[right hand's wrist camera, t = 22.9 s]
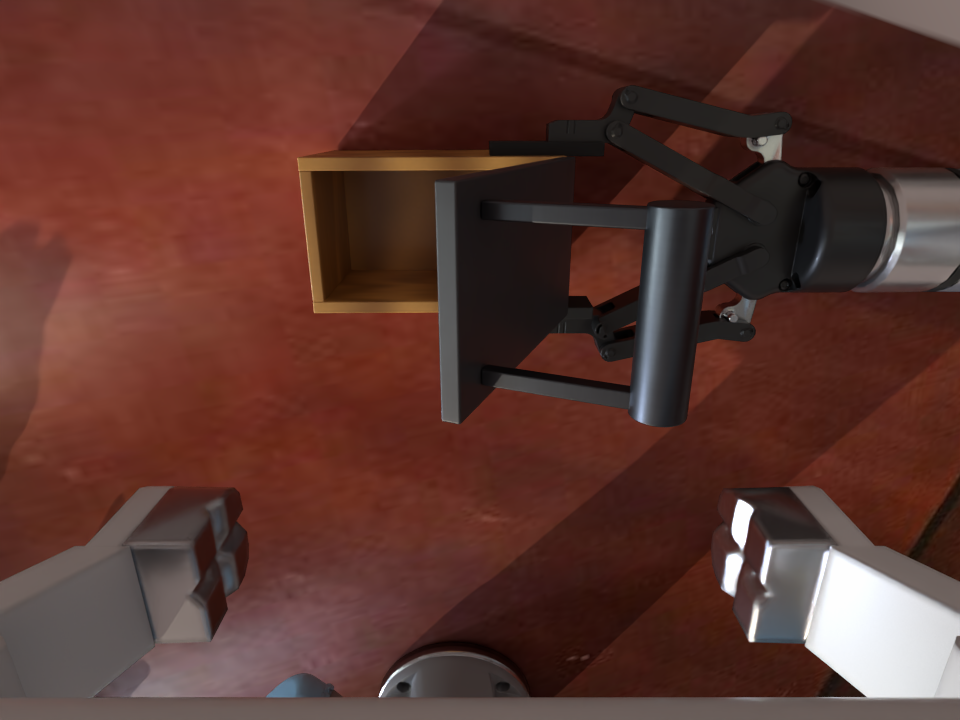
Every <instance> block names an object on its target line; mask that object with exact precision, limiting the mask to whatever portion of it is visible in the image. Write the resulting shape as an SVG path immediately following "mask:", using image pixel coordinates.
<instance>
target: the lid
mask: <svg viewBox="0 0 960 720" xmlns="http://www.w3.org/2000/svg"><path fill="white" fill-rule="evenodd" d="M574 179H575V157H559V158H553V159H548V160H542V161H537V162H531V163H526V164H520V165H515V166H509V167H504V168H498V169H493V170H487V171H482V172H476V173H471V174H465V175H460V176H454V177H449V178H443V179H438V180H435V212H436V246H437V279H438V313H439V347H440V380H441V414H442V421H445V422H450V423H455V424H461V423H462V422H463V421H464V420H465V419H466V418H467V417H468V416H469V415H470V414H471V413H472V412H473V411H474V410H475V409H476V408H477V407H478V406H479V405H480V404H481V403H482V402H483V400H484V399H485V398H486V397H487V396H488V395H489V394H490V393H491V392H492V391H493V390H494V389H495V388H496V387H497V388H503V389H509V390H515V391H521V392H527V393H533V394H539V395H545V396H551V397H557V398H563V399H569V400H575V401H581V402H587V403H593V404H599V405H605V406H611V407H617V408H623V409H628V413H629V415H630V416H631V417H632V418H633V419H634V420H636V421H638V422H640V423H643V424H646V425H650V426H656V427H673V426H678V425H680V424H682V423H684V422H685V421H686V419H687V413H688V406H689V398H690V391H691V383H692V376H693V368H694V361H695V353H696V346H697V338H698V331H699V323H700V316H701V308H702V301H703V293H704V286H705V278H706V271H707V263H708V256H709V248H710V241H711V233H712V226H713V218H714V211H715V205H713V204H711V203H706V202H699V201H685V200H662V201H653V202H649V203H648V204H647V206H634V205H612V204H590V203H573V198H574ZM572 225H575V226H592V227H608V228H625V229H642V230H645V234H644V245H643V256H642V266H641V277H640V288H639V298H638V309H637V320H636V330H635V341H634V352H633V362H632V373H631V384H630V386H626V385H620V384H613V383H607V382H600V381H594V380H587V379H581V378H574V377H567V376H561V375H554V374H548V373H541V372H535V371H528V370H521V369H515V368H516V367H517V366H518V365H519V364H520V363H521V362H522V361H523V360H524V359H525V358H526V357H527V356H528V355H529V354H530V352H531V351H532V350H533V349H534V348H535V347H536V346H537V345H538V344H539V343H540V342H541V341H542V340H543V339H544V338H545V337H546V336H547V335H548V334H549V333H550V332H551V331H552V330H553V329H554V328H555V327H556V326H557V325H558V324H559V323H560V322H561V321H562V320H563V319H564V318H565V317H566V316H567V314H568V297H569V277H570V258H571V238H572Z"/></svg>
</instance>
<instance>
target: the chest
mask: <svg viewBox="0 0 960 720" xmlns="http://www.w3.org/2000/svg"><path fill="white" fill-rule="evenodd" d="M559 157H567V156H490V155H489V150H334V151H329V152H324V153H319V154H313V155H308V156H303V157H298V158H297V159H298V168H299V176H300V185H301V195H302V204H303V213H304V223H305V232H306V241H307V251H308V260H309V269H310V279H311V288H312V297H313V301H314V302H313V307H314V313H414V312H438V279H437V246H436V212H435V180H438V179H443V178H449V177H454V176H460V175H465V174H471V173H476V172H482V171H487V170H493V169H498V168H504V167H509V166H515V165H520V164H526V163H531V162H537V161H542V160H548V159H553V158H559Z"/></svg>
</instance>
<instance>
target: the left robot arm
mask: <svg viewBox="0 0 960 720" xmlns="http://www.w3.org/2000/svg"><path fill="white" fill-rule="evenodd" d="M634 113H635V114H639V115H643V116H647V117H651V118H655V119H659V120H663V121H667V122H671V123H674V124H678V125H682V126H686V127H690V128H694V129H698V130H702V131H706V132H710V133H714V134H717V135H722V136H727V137H740V142H741V146H742V148H743V149H745V150H748V151H753V152H754V153H755V154H756V155H757V157H758V161H757V162H755V163H754V164H752V165H751V166H750V167H748V168H747V169H745V170H744V171H742V172H741V173H739V174H738V175H736V176H735V177H733V178H732V179H730V180H729V181H728V180H727V179H725V178H723V177H721V176H719V175H717V174H715V173H713V172H711V171H709V170H707V169H705V168H704V167H702V166H700V165H698V164H697V163H695V162H693V161H691V160H689V159H688V158H686V157H684V156H682V155H681V154H679V153H677V152H675V151H674V150H672V149H670V148H668V147H667V146H665V145H663V144H661V143H659V142H658V141H656V140H654V139H652V138H651V137H649V136H647V135H645V134H644V133H642V132H640V131H638V130H636V129H635V128H633V127H631V126H629V124H630V122H631V119H632V117H633V115H634ZM791 125H792V117H791V116H790V114H788V113H786V112H764V113H756V114H748V115H747V114H743V113H739V112H735V111H731V110H727V109H723V108H720V107H716V106H712V105H708V104H704V103H700V102H696V101H693V100H689V99H685V98H681V97H677V96H673V95H670V94H666V93H662V92H658V91H654V90H650V89H646V88H643V87H639V86H635V85H630V86H626V87H622V88H619V89H617V90H616V91H615V92H614V94H613V96H612V102H611V104H610V107H609V109H608V111H607V113H606V115H605V116H604V117H602V118H601V119H599V120H555V121H552V122H550V123H547V124H546V141H489V155H490V156H604V146H605V143H609V144H610V145H612V146H614V147H616V148H618V149H619V150H621V151H623V152H625V153H627V154H628V155H630V156H632V157H634V158H636V159H637V160H639V161H641V162H643V163H645V164H646V165H648V166H650V167H652V168H653V169H655V170H657V171H659V172H661V173H662V174H664V175H666V176H668V177H670V178H671V179H673V180H675V181H677V182H679V183H680V184H682V185H684V186H686V187H688V188H689V189H690V190H692V191H694V192H696V193H697V194H699V195H701V196H703V197H705V198H706V201H705V202H706V203H711V204H713V205H715V211H714V218H713V226H712V233H711V241H710V248H709V256H708V263H707V271H706V278H705V286H704V292H706V291H709V290H711V289H713V288H715V287H717V286H720V285H722V284H726V285H727V286H728V287H729V288H731V289H732V290H733V291H734V292H736V293H737V294H736V297H735V298H734V299H733V300H732V301H730V302H727V303H722V304H719V305H718V306H717V307H716V310H715V311H712V310H708V311H701V316H700V323H699V331H698V338H697V343H700V342H705V341H710V340H714V339H725V340H734V341H742V342H745V341H749V340H751V339H752V338H753V337H754V335H755V331H756V330H755V327H754V326H753V325H751V324H750V322H751V318H752V315H753V312H754V308H755V305H756V301H757V300H759V299H762V298H764V297H766V296H768V295H770V294H773V293H777V292H846V291H849V290H852V291H854V292H919V291H923V292H936V291H944V292H960V169H954V168H869V169H867V170H864V169H862V168H797V167H792V166H790V165H789V164H787V163H786V162H784V161H782V160H781V155H782V137H783V134H784V133H786V132H787V131H789V129H790V127H791ZM639 288H640V285H639V286H637V287H635V288H633V289H631V290H629V291H627V292H624V293H622V294H620V295H618V296H616V297H614V298H612V299H610V300H607V301H605V302H603V303H601V304H599V305H597V306H595V307H593V306H592V305H591V303H590V301H589V300H588V298H587V296H569V297H568V314H567V316H566V317H565V318H564V319H563V320H562V321H561V322H560V323H559V324H558V325H557V326H556V327H555V328H554V329H553V330H552V331H551V332H550V333H588V334H591V335H592V336H593V338H594V341H595V345H596V347H597V349H598V351H599V353H600V355H601V357H602V358H603V359H604V360H605V361H608V362H612V361H616V360H621V359H626V358H630V357H633V352H634V341H635V330H636V325H634V326H629V327H625V328H622V327H624V326H626V325H628V324H630V323H632V322H634V321H636V320H637V309H638V298H639ZM619 328H620V329H619ZM333 689H334V686H333V685H332V684H325V683H324V682H322V681H321V680H319V679H318V678H316V677H315V676H313V675H311V674H307V673H301V674H297V675H294V676H292V677H290V678H288V679H286V680H285V681H283V682H282V683H281V684H279V685H278V686H277V687H276V688H275V689H274V690H273V691H272V692H271V693H270V694H268V695H267V696H266V697H343V696H341V695H340V694H339V693H337V692H336V691H335V690H333ZM379 697H459V698H518V697H531V696H530V689H529V686H528V683H527V680H526V678H525V677H524V675H523V673H522V672H521V671H520V669H519V668H518V667H517V666H516V665H515V664H514V663H513V662H512V661H510V660H509V659H508V658H506V657H505V656H503V655H501V654H500V653H498V652H496V651H494V650H491V649H489V648H486V647H483V646H479V645H475V644H470V643H460V642H449V643H438V644H433V645H429V646H425V647H422V648H419V649H417V650H415V651H412V652H410V653H409V654H407V655H405V656H404V657H402V658H401V659H399V660H398V661H397V662H396V663H395V664H394V665H393V666H392V667H391V668H390V669H389V671H388V672H387V673H386V675H385V677H384V679H383V681H382V684H381V688H380V692H379Z"/></svg>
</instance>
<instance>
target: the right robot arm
mask: <svg viewBox="0 0 960 720" xmlns="http://www.w3.org/2000/svg"><path fill="white" fill-rule="evenodd" d="M242 511H243V507H242V502H241V497H240V493H239V492H238V491H237V490H236V489H235V488H233V487H184V486H177V487H173V486H147V487H143V488H139V489H138V490H137V491H136V492H135V494H134V495H133V496H132V497H131V498H130V499H129V500H128V501H127V502H126V503H125V504H124V505H123V506H122V507H121V508H120V510H119V511H118V512H117V513H116V514H115V515H114V516H113V517H112V518H111V519H110V520H109V521H108V522H107V523H106V524H105V526H104V527H103V528H102V529H101V530H100V531H99V532H98V533H97V534H96V535H95V536H94V537H93V538H92V539H91V540H90V541H89V543H88V544H87V545H86V546H74V547H72V548H70V549H68V550H66V551H64V552H62V553H60V554H58V555H56V556H53V557H51V558H49V559H47V560H45V561H43V562H41V563H39V564H37V565H34V566H32V567H30V568H28V569H26V570H24V571H22V572H20V573H18V574H16V575H13V576H11V577H9V578H7V579H5V580H3V581H1V582H0V720H960V582H959V581H957V580H955V579H953V578H951V577H948V576H946V575H944V574H942V573H940V572H938V571H936V570H934V569H932V568H930V567H928V566H925V565H923V564H921V563H919V562H917V561H915V560H913V559H911V558H909V557H907V556H904V555H902V554H900V553H898V552H896V551H894V550H892V549H890V548H888V547H886V546H874V545H873V544H872V543H871V541H870V540H869V539H868V538H867V537H866V536H865V535H864V534H863V533H862V532H861V531H860V530H859V529H858V528H857V527H856V525H855V524H854V523H853V522H852V521H851V520H850V519H849V518H848V517H847V516H846V515H845V514H844V513H843V512H842V511H841V509H840V508H839V507H838V506H837V505H836V504H835V503H834V502H833V501H832V500H831V499H830V498H829V497H828V496H827V495H826V493H825V492H824V491H823V490H822V489H820V488H818V487H815V486H793V487H769V488H723V490H722V492H721V494H720V496H719V501H718V506H717V511H718V512H719V514H720V516H721V517H722V519H723V522H722V523H721V524H720V525H719V526H718V527H717V528H716V529H715V530H714V531H713V537H712V545H711V555H712V566H713V569H714V572H715V576H716V578H717V580H718V582H719V584H720V587H721V589H723V590H724V591H725V592H727V593H728V594H730V595H731V596H733V597H734V603H733V608H732V610H733V612H734V614H735V616H736V617H737V619H738V621H739V623H740V625H741V627H742V629H743V631H744V633H745V635H746V636H747V638H748V640H749V642H768V643H804V644H805V647H807V648H808V649H809V650H810V651H811V652H813V653H814V654H815V655H816V656H818V657H819V658H820V659H821V660H822V661H824V662H825V663H826V664H827V665H829V666H830V667H831V668H832V669H834V670H835V671H836V672H837V673H838V674H840V675H841V676H842V677H843V678H845V679H846V680H847V681H848V682H849V683H851V684H852V685H853V686H854V687H856V688H857V689H858V690H859V691H860V692H862V693H863V694H864V695H865V696H867V697H518V698H459V697H94V696H95V695H96V694H97V693H99V692H100V691H101V690H102V689H103V688H105V687H106V686H107V685H108V684H110V683H111V682H112V681H113V680H114V679H116V678H117V677H118V676H119V675H121V674H122V673H123V672H124V671H125V670H127V669H128V668H129V667H130V666H132V665H133V664H134V663H135V662H137V661H138V660H139V659H140V658H141V657H143V656H144V655H145V654H146V653H148V652H149V651H150V650H151V649H152V648H154V647H155V643H190V642H211V640H212V638H213V637H214V635H215V633H216V631H217V629H218V627H219V625H220V623H221V621H222V619H223V617H224V616H225V614H226V612H227V610H228V608H227V603H226V597H227V596H229V595H230V594H232V593H233V592H235V591H236V590H237V589H239V586H240V584H241V582H242V580H243V578H244V576H245V572H246V568H247V563H248V559H249V543H248V536H247V531H246V530H245V529H244V528H243V527H242V526H241V525H240V524H239V523H238V522H237V519H238V517H239V516H240V514H241V512H242Z"/></svg>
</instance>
